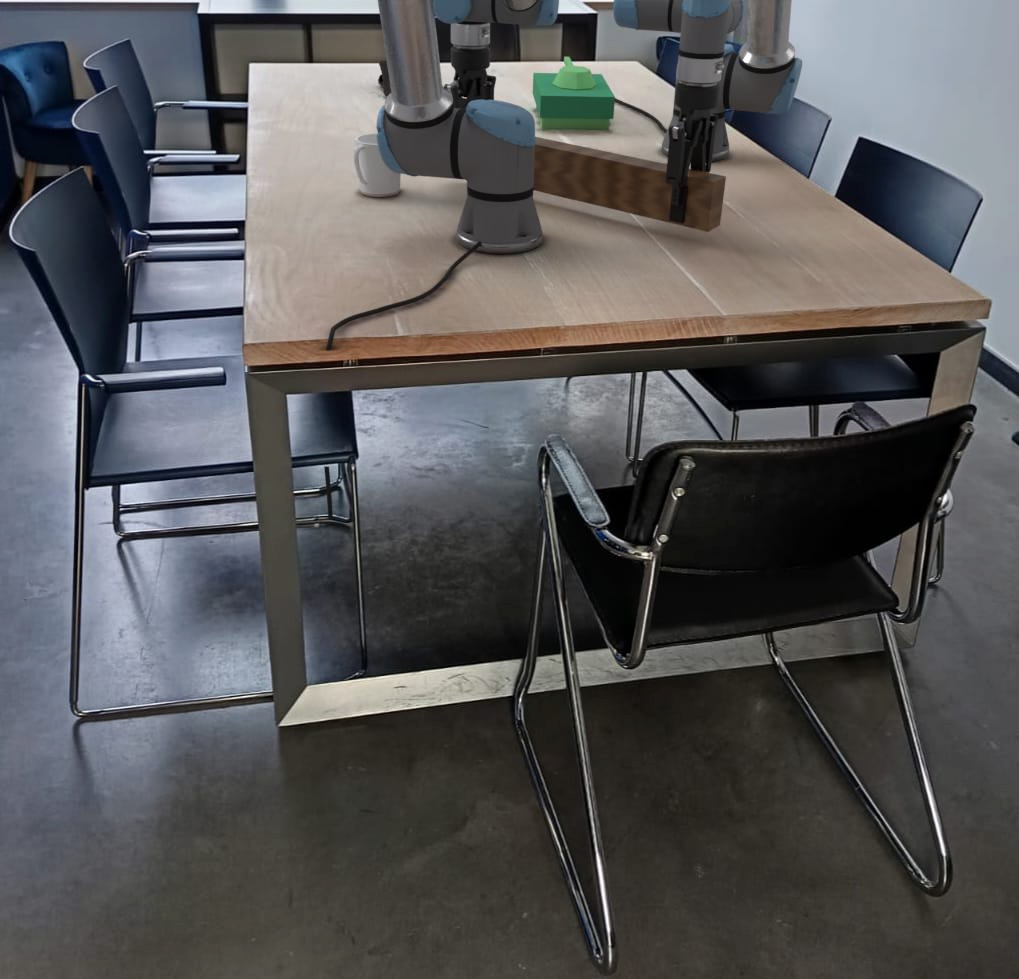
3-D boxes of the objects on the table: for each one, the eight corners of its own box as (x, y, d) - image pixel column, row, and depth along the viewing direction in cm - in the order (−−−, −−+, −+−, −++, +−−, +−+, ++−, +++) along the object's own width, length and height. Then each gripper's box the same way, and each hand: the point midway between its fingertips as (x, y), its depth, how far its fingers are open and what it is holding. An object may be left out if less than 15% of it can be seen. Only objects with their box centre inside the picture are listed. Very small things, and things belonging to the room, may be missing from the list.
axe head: (443, 87, 294) (392, 77, 287) (436, 115, 299) (385, 106, 292) (421, 62, 307) (371, 52, 300) (414, 89, 311) (365, 80, 304)
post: (439, 167, 223) (438, 123, 219) (453, 163, 226) (453, 119, 222) (707, 232, 192) (713, 182, 188) (720, 225, 195) (726, 176, 191)
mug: (380, 182, 225) (378, 131, 219) (411, 190, 220) (410, 138, 215) (340, 193, 218) (337, 140, 212) (372, 202, 213) (370, 149, 207)
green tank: (599, 53, 287) (616, 80, 258) (595, 101, 294) (612, 133, 264) (532, 51, 286) (541, 79, 257) (530, 100, 293) (539, 132, 263)
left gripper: (456, 54, 201) (456, 181, 213) (514, 42, 213) (511, 162, 226) (425, 49, 205) (427, 174, 217) (483, 37, 217) (482, 156, 229)
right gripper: (692, 93, 176) (677, 234, 189) (742, 77, 188) (725, 210, 201) (652, 87, 180) (640, 225, 192) (703, 71, 192) (689, 202, 204)
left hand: (470, 167), depth 221 cm, fingers closed on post, 5 cm apart
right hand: (684, 217), depth 196 cm, fingers closed on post, 5 cm apart
